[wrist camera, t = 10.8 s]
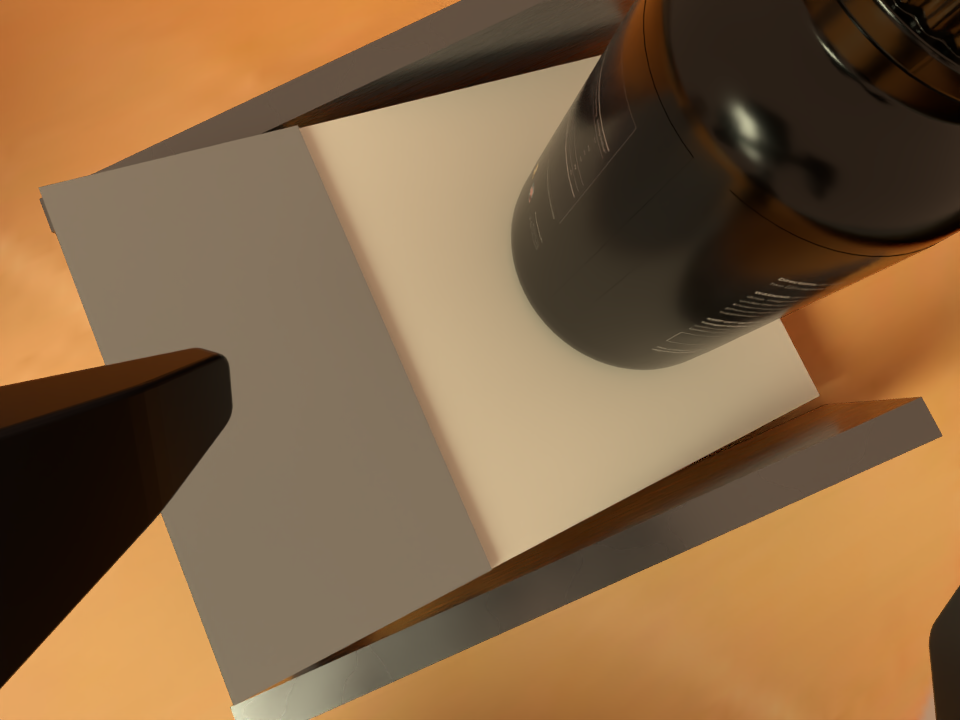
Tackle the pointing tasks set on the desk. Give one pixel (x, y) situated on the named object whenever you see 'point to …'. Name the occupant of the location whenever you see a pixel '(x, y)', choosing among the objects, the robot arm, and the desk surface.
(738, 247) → the supplement bottle
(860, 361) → the desk surface
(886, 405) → the flap frame
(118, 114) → the desk surface
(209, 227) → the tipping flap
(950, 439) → the desk surface
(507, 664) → the desk surface
